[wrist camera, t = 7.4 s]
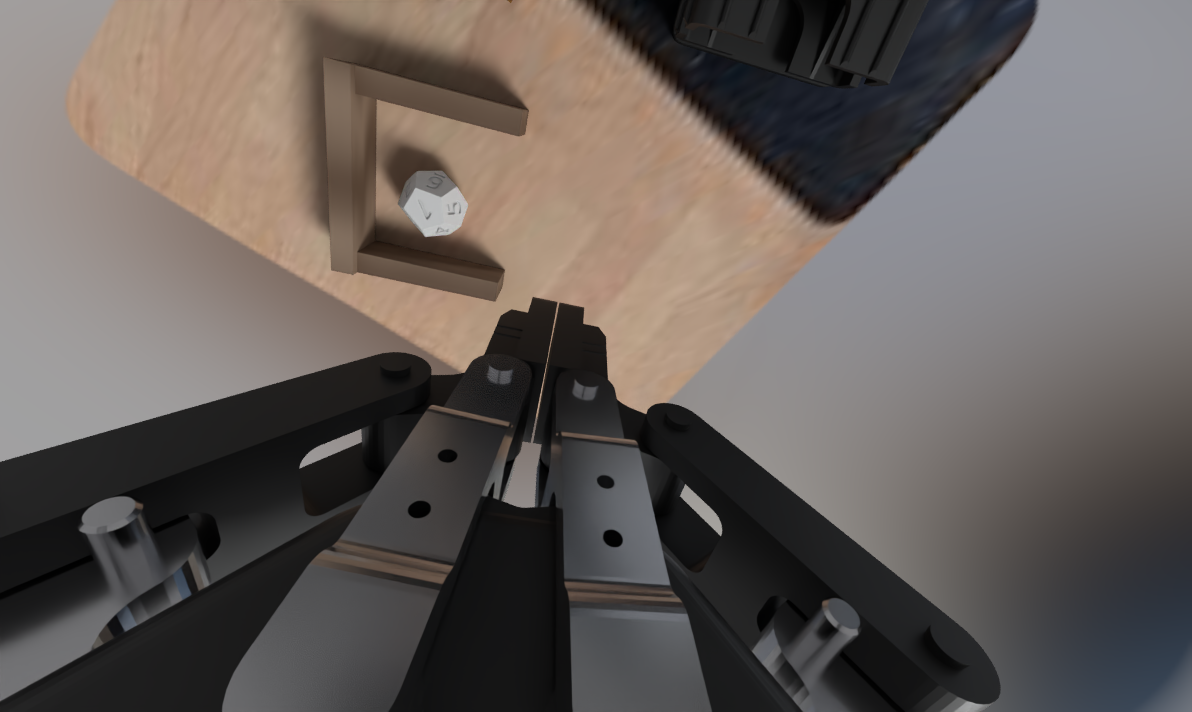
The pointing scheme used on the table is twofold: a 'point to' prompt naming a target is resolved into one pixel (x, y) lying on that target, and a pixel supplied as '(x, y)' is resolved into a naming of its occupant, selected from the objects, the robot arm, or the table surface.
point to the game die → (433, 203)
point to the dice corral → (355, 174)
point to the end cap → (804, 36)
